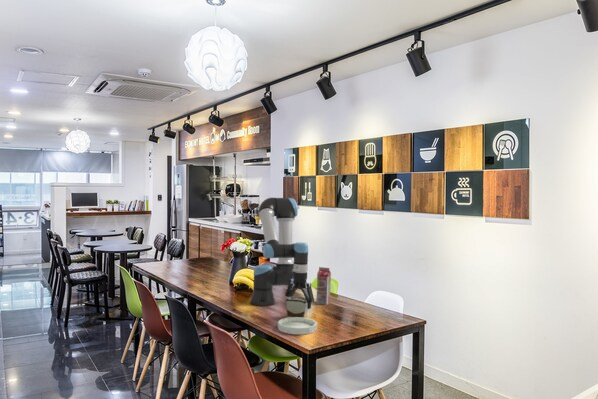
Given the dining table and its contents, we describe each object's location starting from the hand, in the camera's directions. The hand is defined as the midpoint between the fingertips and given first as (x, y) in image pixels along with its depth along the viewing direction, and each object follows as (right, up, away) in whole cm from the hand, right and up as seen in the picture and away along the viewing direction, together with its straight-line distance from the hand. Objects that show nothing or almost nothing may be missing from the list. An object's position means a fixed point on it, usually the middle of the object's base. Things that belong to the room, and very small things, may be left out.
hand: (298, 312), depth 231 cm
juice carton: (+15, -4, +36) cm, 39 cm away
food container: (-1, -3, +1) cm, 3 cm away
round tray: (-1, -3, -18) cm, 18 cm away
